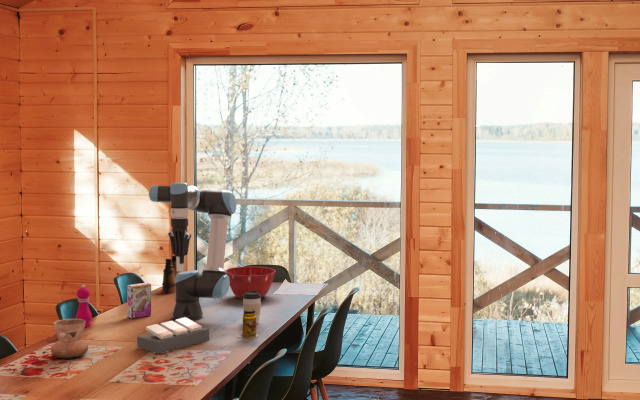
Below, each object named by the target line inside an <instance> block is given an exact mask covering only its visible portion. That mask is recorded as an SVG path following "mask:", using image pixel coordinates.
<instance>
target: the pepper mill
mask: <svg viewBox="0 0 640 400" xmlns="http://www.w3.org/2000/svg"><path fill="white" fill-rule="evenodd" d="M80 287H81V288H78V289H77V291H76V296H77V298H78V299H77V302H78V308H77V312H76V314H75V319H82V320H84V321H85V327H87V328H90V327H91V326H92V322H91V320H92V318H93V316H92V312H91V309H90V307H89V302H90V296H91V291H90V289H89V288H86V285H85V284H82V285H81V286H80ZM89 326H90V327H89ZM85 327H84V329H86V328H85Z"/></svg>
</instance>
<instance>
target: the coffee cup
mask: <svg viewBox="0 0 640 400" xmlns="http://www.w3.org/2000/svg"><path fill="white" fill-rule="evenodd" d="M242 298H243V299H242V306H243V307H242V309H243V311H244V310H246V309H253V310H255V316H256V325H258V324H259V323H260V315H261V304H262V303H261V299H262V298H261V295H260V294H259V293H258V292H256V291H250V292H245V294H244V295H243V297H242Z"/></svg>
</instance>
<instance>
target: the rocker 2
mask: <svg viewBox="0 0 640 400" xmlns="http://www.w3.org/2000/svg"><path fill="white" fill-rule="evenodd" d="M160 326H161V327H163V328H165V329H166V330H168V331H170V332H171V333H173V334H175V335H176V336H177V335H181V334H185V333H188V330H187V329H186V328H184V327H182V326H180V325H179V324H177V323H175V321H174V320H169V321H164V322H160Z"/></svg>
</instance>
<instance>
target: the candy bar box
mask: <svg viewBox="0 0 640 400" xmlns="http://www.w3.org/2000/svg"><path fill="white" fill-rule="evenodd" d="M126 293H127V294H126V300H127V302H126V306H127V307H126V311H127V313H126V316H127V318H128V317H129V318H128V319H130V318H131V320H134V319H138V318H139V317H140V318H145V316H146V317H150V315H151V316H152V284H151V283H148V282H142V283H134V284H128V285H126ZM133 318H134V319H133ZM140 318H139V319H140Z"/></svg>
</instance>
